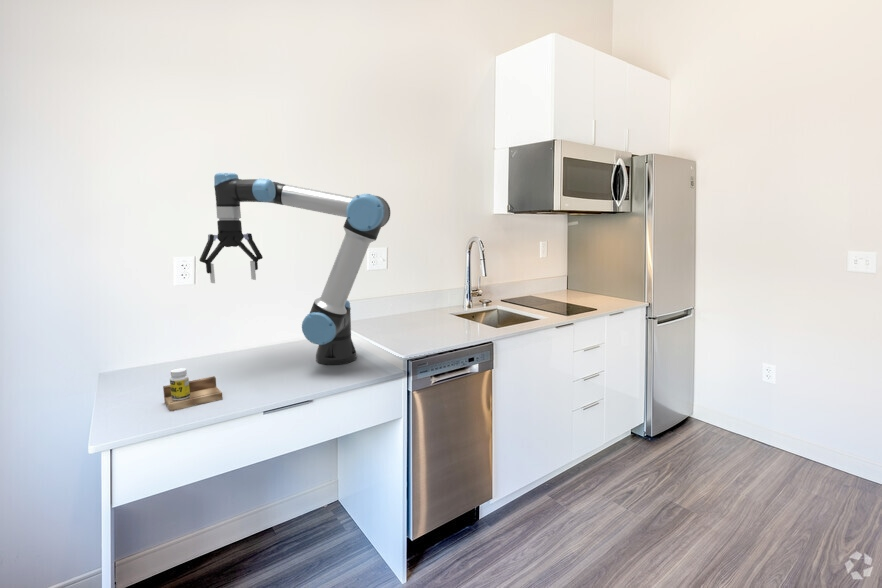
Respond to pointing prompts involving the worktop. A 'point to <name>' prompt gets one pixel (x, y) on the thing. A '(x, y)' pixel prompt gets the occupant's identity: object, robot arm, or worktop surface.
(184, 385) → the supplement bottle
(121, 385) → the worktop surface
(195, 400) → the wooden stand
